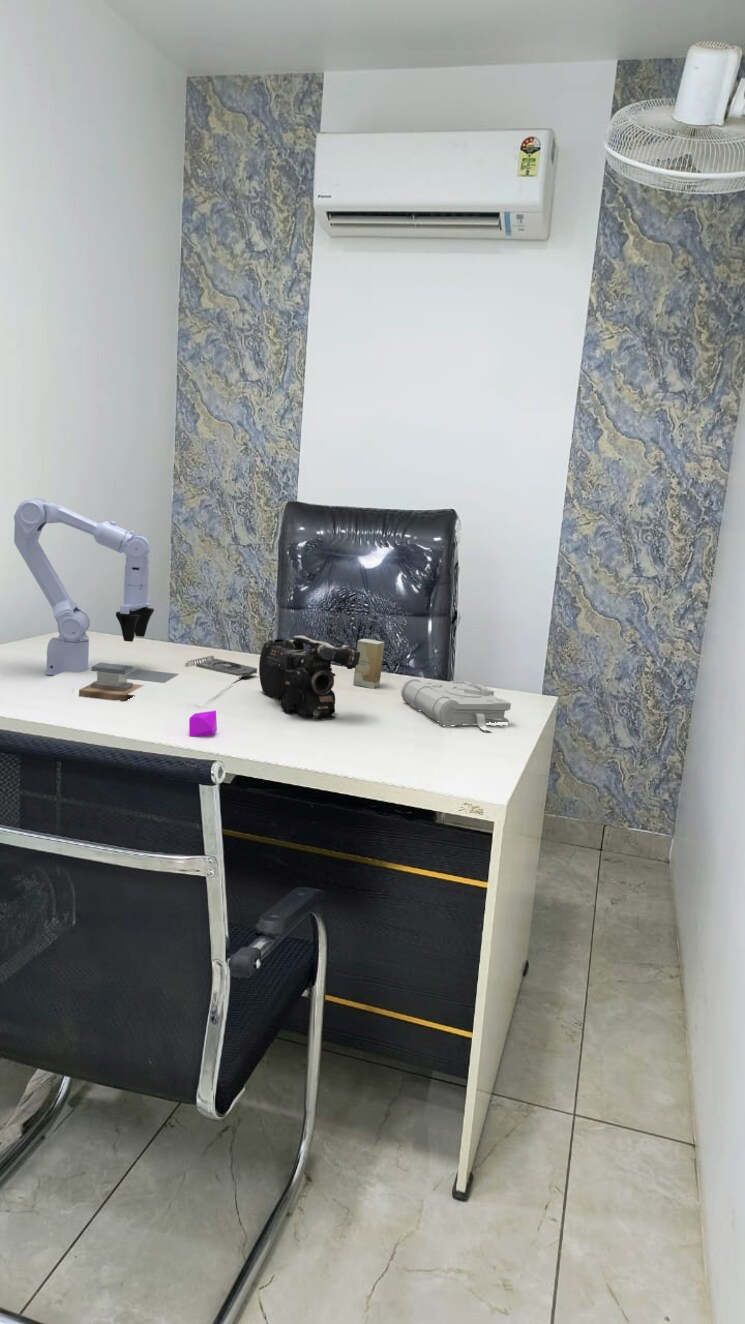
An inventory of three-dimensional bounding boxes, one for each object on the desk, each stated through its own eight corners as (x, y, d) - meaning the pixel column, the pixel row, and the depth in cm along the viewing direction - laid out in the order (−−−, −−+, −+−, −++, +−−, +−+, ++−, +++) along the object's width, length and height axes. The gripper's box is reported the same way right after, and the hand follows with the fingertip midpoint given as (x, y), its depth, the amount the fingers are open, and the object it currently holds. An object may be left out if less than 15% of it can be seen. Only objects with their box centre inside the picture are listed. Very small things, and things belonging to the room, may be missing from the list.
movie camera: (369, 717, 212) (371, 641, 208) (300, 726, 202) (301, 647, 199) (303, 690, 237) (304, 623, 234) (240, 698, 227) (239, 627, 224)
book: (447, 735, 206) (451, 701, 205) (398, 703, 231) (401, 673, 230) (522, 734, 213) (526, 702, 212) (466, 703, 239) (470, 675, 237)
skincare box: (352, 685, 246) (356, 640, 243) (358, 682, 249) (362, 637, 247) (374, 689, 243) (378, 643, 241) (380, 686, 247) (384, 641, 245)
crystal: (192, 729, 192) (193, 708, 191) (218, 731, 192) (219, 710, 191) (187, 736, 187) (188, 714, 186) (213, 738, 187) (214, 717, 186)
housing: (90, 687, 213) (91, 666, 212) (99, 683, 218) (100, 662, 217) (124, 691, 212) (125, 670, 211) (132, 687, 217) (133, 666, 216)
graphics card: (182, 660, 243) (212, 654, 254) (181, 674, 244) (211, 667, 254) (232, 673, 235) (261, 665, 245) (231, 687, 236) (260, 679, 246)
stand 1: (78, 696, 211) (79, 689, 210) (99, 686, 221) (99, 680, 221) (125, 701, 209) (125, 695, 209) (143, 691, 220) (143, 685, 220)
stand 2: (120, 683, 225) (120, 677, 225) (137, 674, 236) (137, 669, 236) (163, 688, 224) (164, 682, 224) (179, 679, 235) (179, 673, 234)
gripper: (140, 589, 221) (138, 645, 224) (162, 583, 235) (159, 635, 238) (112, 586, 222) (110, 642, 224) (135, 580, 236) (133, 632, 239)
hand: (134, 638), depth 231 cm, fingers open, 7 cm apart
